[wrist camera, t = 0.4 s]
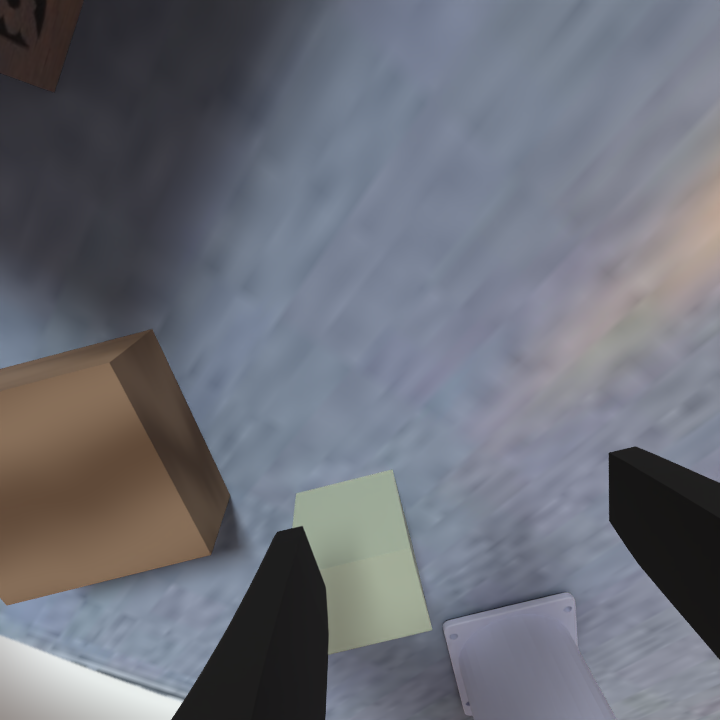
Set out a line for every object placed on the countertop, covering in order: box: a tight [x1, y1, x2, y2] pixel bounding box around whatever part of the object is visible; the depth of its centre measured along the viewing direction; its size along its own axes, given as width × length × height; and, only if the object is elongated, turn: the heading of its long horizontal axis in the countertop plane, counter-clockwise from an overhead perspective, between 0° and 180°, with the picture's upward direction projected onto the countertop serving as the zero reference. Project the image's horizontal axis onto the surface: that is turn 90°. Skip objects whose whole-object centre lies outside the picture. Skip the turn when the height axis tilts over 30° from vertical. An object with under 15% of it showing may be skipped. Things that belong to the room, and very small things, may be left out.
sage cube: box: [293, 470, 432, 655], centre depth 19 cm, size 5×5×5 cm
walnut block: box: [0, 329, 230, 605], centre depth 17 cm, size 9×9×4 cm
